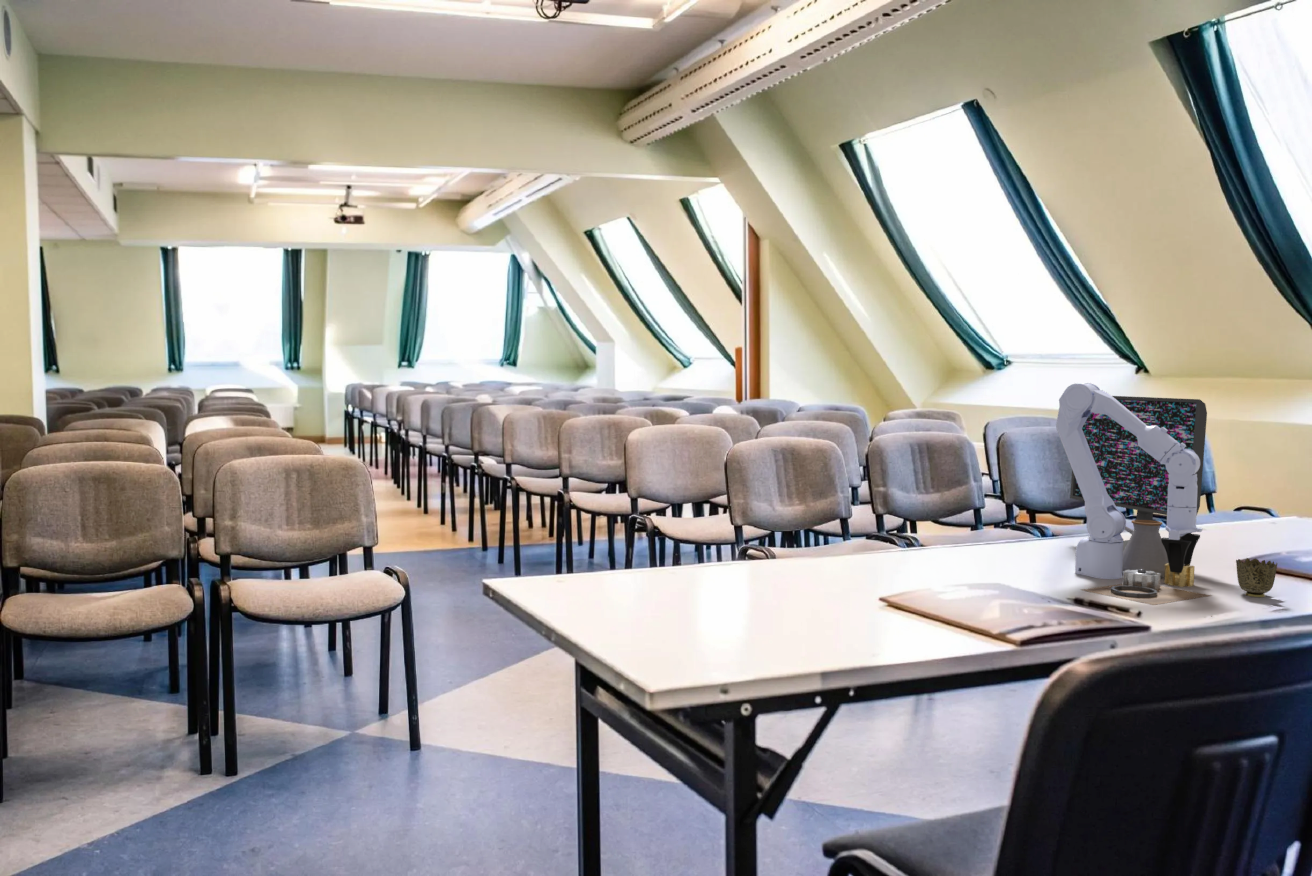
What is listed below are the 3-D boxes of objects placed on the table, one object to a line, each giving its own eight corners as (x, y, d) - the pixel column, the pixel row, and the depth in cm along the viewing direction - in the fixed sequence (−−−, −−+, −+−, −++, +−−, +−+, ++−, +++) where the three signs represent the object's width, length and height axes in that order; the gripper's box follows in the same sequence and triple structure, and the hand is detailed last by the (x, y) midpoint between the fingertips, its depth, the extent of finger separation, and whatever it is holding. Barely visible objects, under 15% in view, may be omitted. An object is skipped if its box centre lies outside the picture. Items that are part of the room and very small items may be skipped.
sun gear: (1115, 585, 240) (1116, 568, 240) (1136, 582, 244) (1137, 565, 244) (1145, 591, 234) (1146, 573, 234) (1167, 587, 238) (1167, 570, 238)
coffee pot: (1183, 580, 252) (1186, 513, 251) (1152, 585, 246) (1155, 516, 245) (1100, 565, 270) (1102, 503, 269) (1069, 569, 264) (1071, 505, 263)
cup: (1253, 604, 227) (1255, 564, 226) (1226, 597, 234) (1227, 558, 233) (1284, 602, 229) (1286, 563, 228) (1255, 595, 236) (1257, 557, 235)
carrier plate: (1079, 594, 235) (1079, 589, 235) (1137, 586, 245) (1137, 581, 245) (1153, 609, 220) (1153, 604, 220) (1211, 600, 230) (1211, 595, 230)
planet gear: (1158, 587, 243) (1159, 562, 243) (1174, 585, 246) (1175, 560, 246) (1182, 592, 239) (1183, 566, 238) (1199, 589, 242) (1200, 564, 241)
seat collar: (1102, 591, 233) (1102, 587, 233) (1128, 587, 237) (1128, 584, 237) (1139, 599, 225) (1139, 595, 225) (1165, 595, 230) (1166, 591, 230)
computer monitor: (1049, 542, 306) (1054, 394, 303) (1099, 540, 311) (1104, 394, 308) (1167, 570, 264) (1173, 399, 262) (1223, 567, 269) (1230, 399, 267)
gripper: (1195, 511, 233) (1193, 576, 234) (1209, 504, 245) (1207, 566, 246) (1158, 508, 237) (1156, 572, 238) (1173, 502, 249) (1171, 563, 250)
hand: (1179, 569), depth 242 cm, fingers open, 7 cm apart
